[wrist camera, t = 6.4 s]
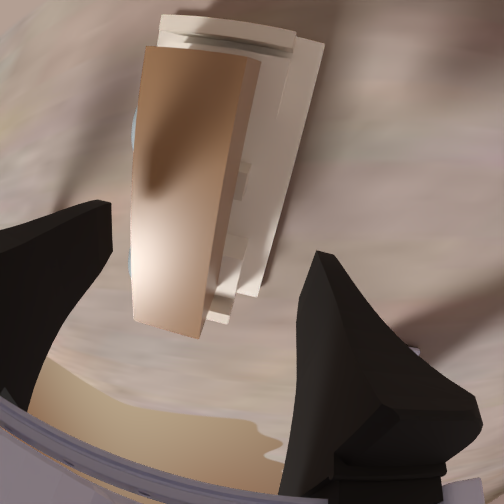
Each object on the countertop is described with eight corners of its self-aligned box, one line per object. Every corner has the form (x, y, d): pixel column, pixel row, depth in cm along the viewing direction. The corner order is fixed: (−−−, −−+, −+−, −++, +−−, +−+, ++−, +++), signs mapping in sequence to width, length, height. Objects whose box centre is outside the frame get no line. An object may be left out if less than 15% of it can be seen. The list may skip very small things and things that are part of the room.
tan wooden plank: (216, 287, 20) (198, 339, 16) (157, 271, 20) (128, 318, 16) (261, 61, 13) (247, 56, 9) (180, 50, 13) (138, 45, 9)
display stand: (258, 288, 24) (250, 332, 20) (143, 259, 24) (117, 295, 20) (323, 45, 15) (332, 36, 11) (168, 20, 15) (133, 10, 11)
